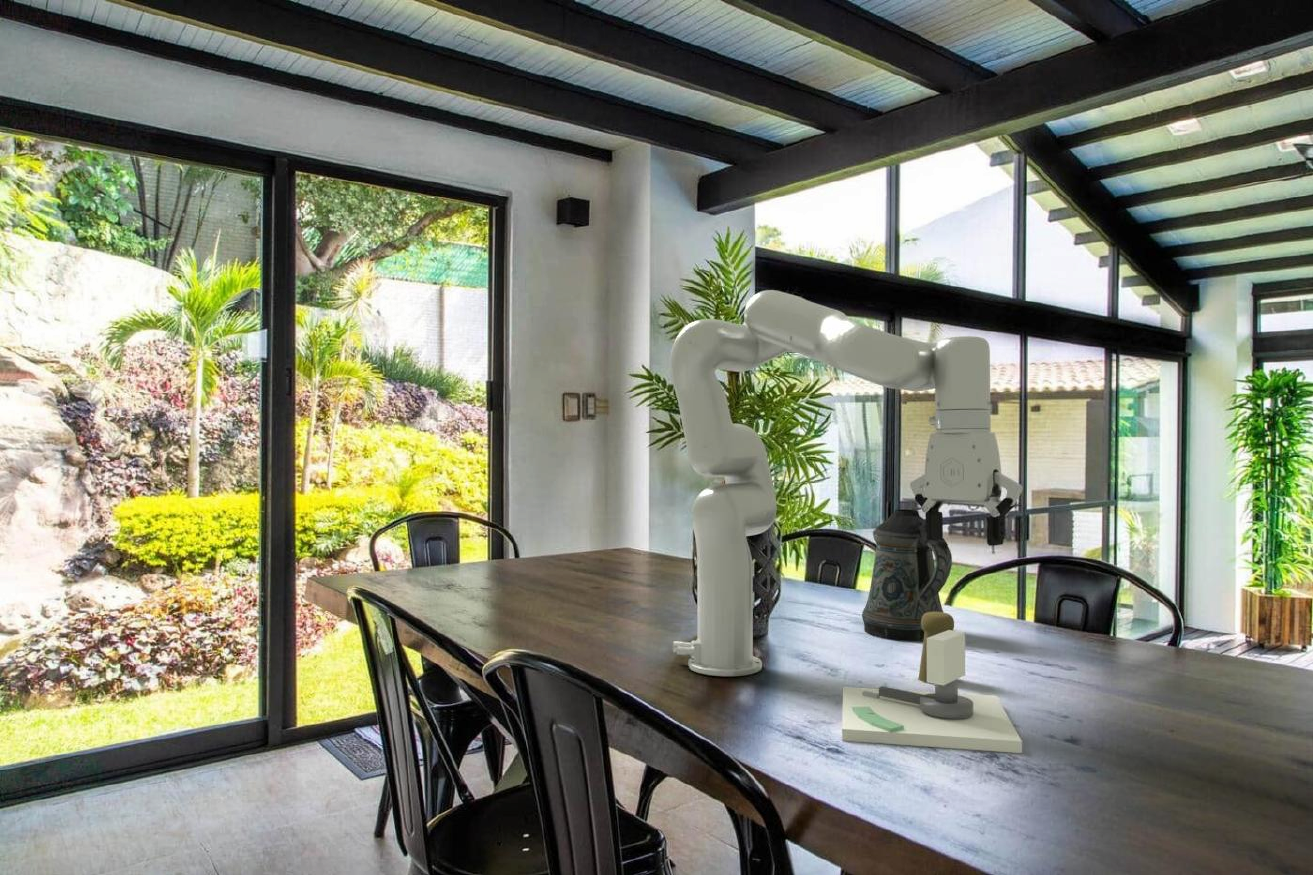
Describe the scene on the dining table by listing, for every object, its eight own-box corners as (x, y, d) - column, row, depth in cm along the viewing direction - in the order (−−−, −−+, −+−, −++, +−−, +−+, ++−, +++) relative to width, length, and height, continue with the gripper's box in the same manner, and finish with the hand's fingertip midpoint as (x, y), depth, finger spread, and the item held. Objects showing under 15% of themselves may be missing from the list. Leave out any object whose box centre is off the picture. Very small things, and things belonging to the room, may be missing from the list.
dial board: (842, 740, 114) (842, 725, 114) (843, 696, 134) (843, 683, 134) (1022, 753, 109) (1022, 737, 109) (996, 706, 129) (996, 692, 129)
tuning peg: (981, 710, 121) (981, 634, 121) (960, 722, 116) (960, 643, 116) (891, 691, 130) (891, 621, 130) (868, 701, 125) (868, 628, 125)
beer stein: (880, 620, 190) (879, 505, 190) (971, 632, 179) (971, 509, 179) (849, 634, 177) (848, 510, 177) (945, 647, 165) (945, 515, 165)
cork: (959, 685, 139) (959, 616, 140) (920, 683, 141) (920, 615, 141) (954, 675, 145) (954, 609, 145) (916, 674, 147) (916, 608, 147)
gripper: (896, 424, 130) (897, 539, 130) (1005, 421, 117) (1006, 549, 117) (926, 424, 135) (927, 535, 135) (1033, 421, 122) (1035, 545, 121)
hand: (964, 542), depth 126 cm, fingers open, 9 cm apart
